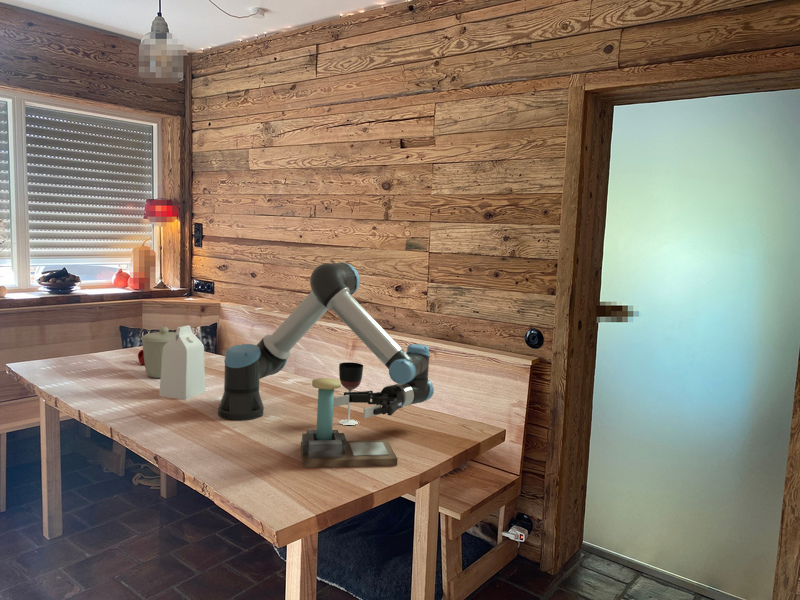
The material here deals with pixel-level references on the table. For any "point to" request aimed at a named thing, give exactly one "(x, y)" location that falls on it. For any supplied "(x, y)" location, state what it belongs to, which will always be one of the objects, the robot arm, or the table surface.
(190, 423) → the table surface
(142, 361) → the pomegranate
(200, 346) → the milk
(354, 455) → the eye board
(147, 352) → the canister
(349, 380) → the wineglass
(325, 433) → the disc-capped post
